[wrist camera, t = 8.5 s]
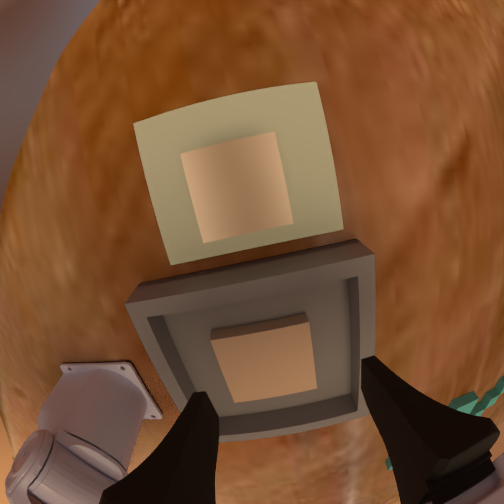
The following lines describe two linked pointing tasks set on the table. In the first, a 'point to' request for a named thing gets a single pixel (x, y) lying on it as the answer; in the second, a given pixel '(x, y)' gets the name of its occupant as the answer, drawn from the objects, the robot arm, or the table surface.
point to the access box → (266, 338)
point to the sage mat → (231, 128)
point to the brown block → (237, 187)
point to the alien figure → (472, 404)
